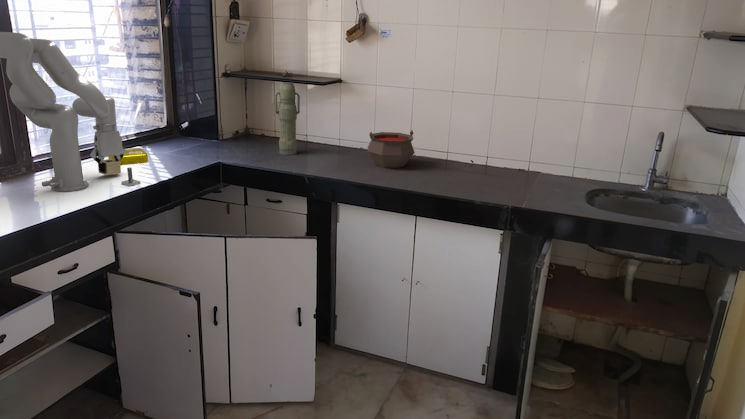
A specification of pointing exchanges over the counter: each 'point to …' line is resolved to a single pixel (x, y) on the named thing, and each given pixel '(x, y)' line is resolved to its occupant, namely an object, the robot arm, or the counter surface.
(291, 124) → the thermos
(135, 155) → the element tile
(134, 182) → the grey post on base
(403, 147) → the brown cauldron
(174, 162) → the counter surface
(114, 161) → the tan box with hole
